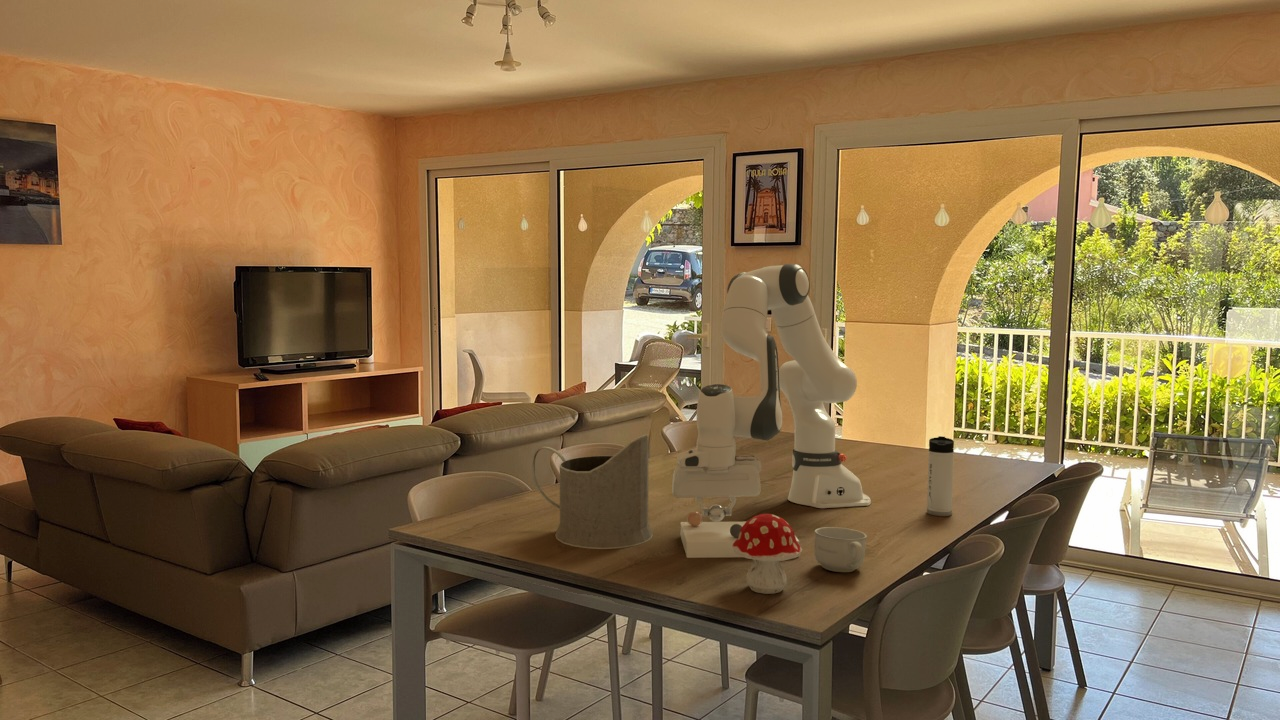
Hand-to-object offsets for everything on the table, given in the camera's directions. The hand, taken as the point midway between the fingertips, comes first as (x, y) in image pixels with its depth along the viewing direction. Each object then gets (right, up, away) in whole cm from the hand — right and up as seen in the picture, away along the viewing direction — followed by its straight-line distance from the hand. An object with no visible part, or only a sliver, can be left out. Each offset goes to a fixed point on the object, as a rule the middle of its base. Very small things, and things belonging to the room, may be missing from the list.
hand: (716, 515), depth 212 cm
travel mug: (+61, -5, +31) cm, 69 cm away
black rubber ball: (+4, -3, -5) cm, 7 cm away
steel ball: (0, +1, 0) cm, 1 cm away
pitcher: (-30, -6, +11) cm, 33 cm away
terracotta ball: (-5, -2, +4) cm, 7 cm away
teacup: (+25, -9, -18) cm, 32 cm away
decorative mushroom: (+7, -10, -29) cm, 32 cm away
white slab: (+5, -7, 0) cm, 9 cm away
